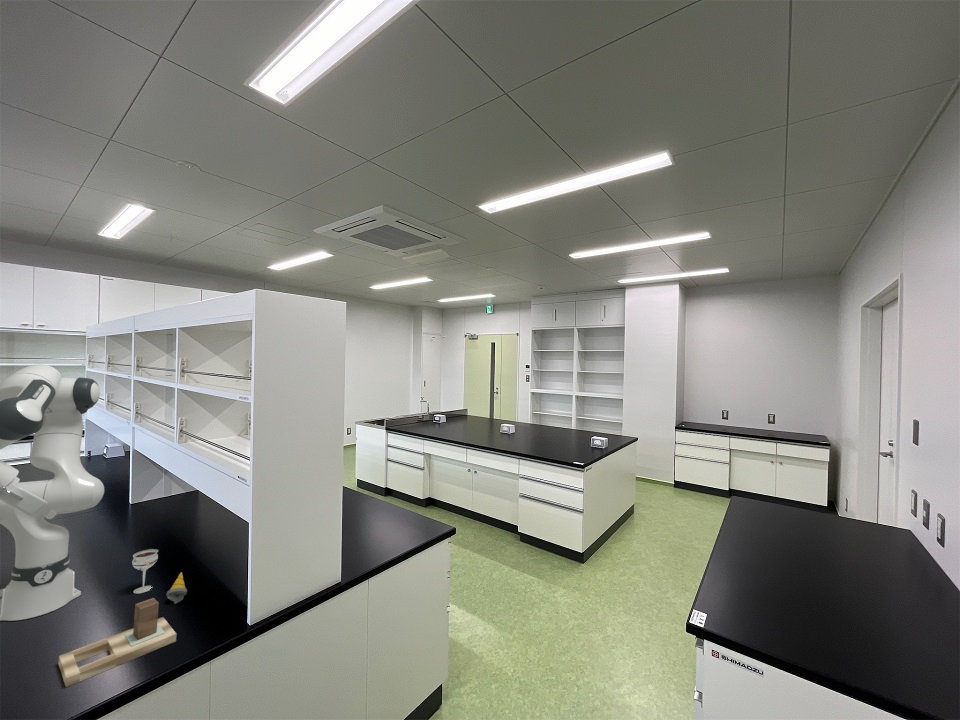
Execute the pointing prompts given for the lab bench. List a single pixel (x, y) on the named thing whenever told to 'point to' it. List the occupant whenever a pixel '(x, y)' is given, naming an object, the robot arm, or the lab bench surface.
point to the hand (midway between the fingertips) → (46, 512)
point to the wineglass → (144, 565)
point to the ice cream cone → (177, 590)
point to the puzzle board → (113, 652)
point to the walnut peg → (145, 618)
